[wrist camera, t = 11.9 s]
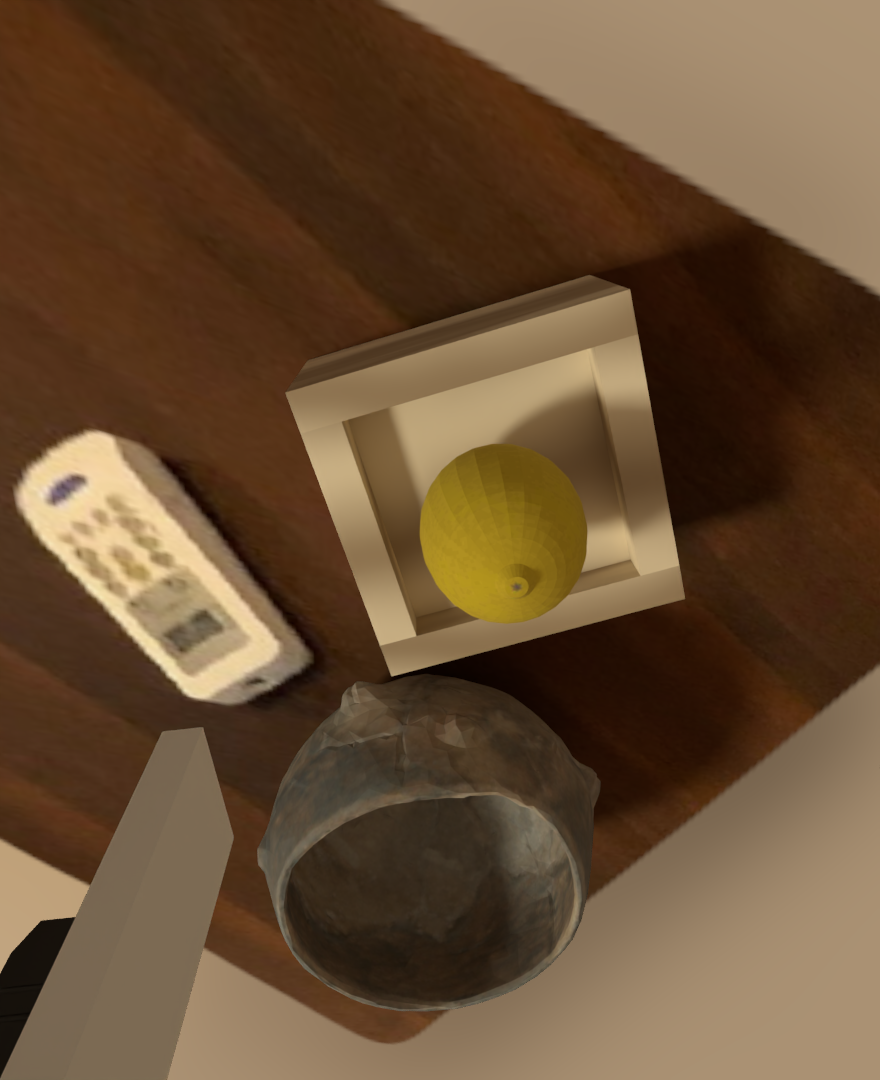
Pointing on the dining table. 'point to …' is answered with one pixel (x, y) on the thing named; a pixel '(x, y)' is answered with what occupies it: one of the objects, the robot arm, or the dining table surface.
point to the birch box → (481, 419)
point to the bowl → (430, 845)
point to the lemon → (503, 533)
